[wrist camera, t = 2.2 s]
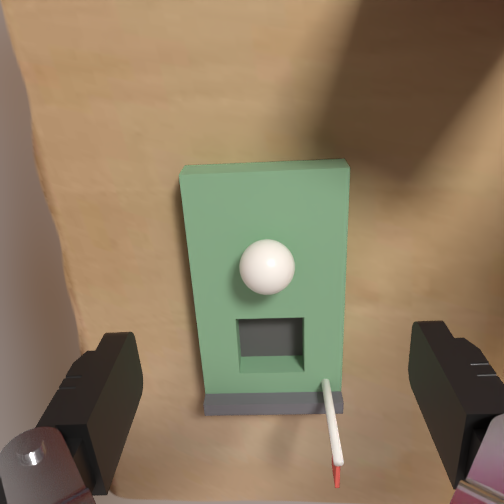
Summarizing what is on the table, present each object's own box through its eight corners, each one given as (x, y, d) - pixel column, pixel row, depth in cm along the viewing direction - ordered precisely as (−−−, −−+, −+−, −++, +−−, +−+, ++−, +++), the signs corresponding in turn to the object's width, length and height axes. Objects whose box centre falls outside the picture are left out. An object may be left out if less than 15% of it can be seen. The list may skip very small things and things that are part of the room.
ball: (239, 231, 34) (235, 254, 31) (293, 229, 34) (296, 252, 30) (242, 279, 36) (239, 306, 32) (293, 277, 36) (296, 304, 32)
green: (184, 165, 35) (151, 217, 25) (344, 158, 34) (375, 209, 24) (210, 388, 44) (193, 491, 34) (336, 386, 44) (356, 489, 34)
